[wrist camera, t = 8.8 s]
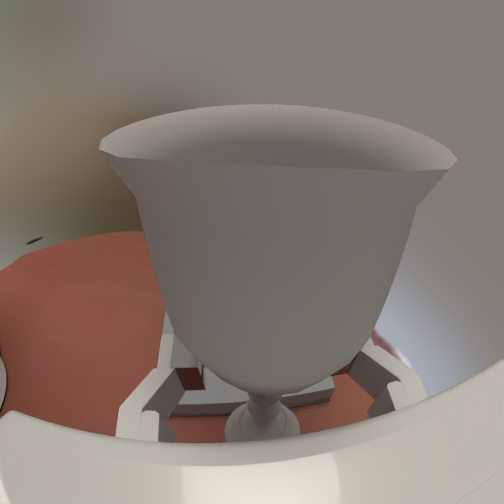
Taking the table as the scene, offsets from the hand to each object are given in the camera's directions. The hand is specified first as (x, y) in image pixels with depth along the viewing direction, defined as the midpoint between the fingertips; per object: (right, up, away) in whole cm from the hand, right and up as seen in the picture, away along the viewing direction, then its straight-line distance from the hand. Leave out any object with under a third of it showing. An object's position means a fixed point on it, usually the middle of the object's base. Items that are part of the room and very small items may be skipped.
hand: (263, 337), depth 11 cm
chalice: (0, -9, +5) cm, 10 cm away
